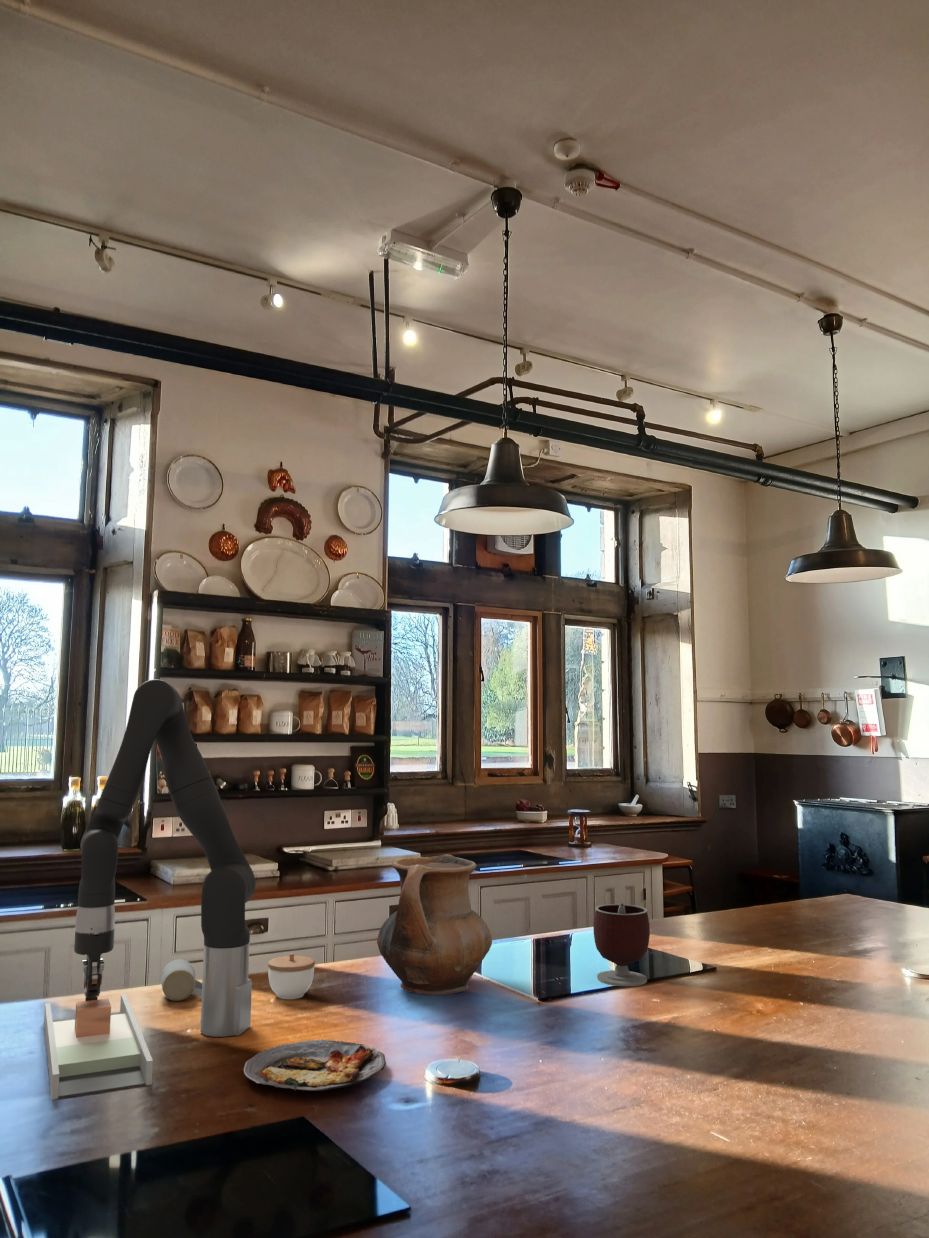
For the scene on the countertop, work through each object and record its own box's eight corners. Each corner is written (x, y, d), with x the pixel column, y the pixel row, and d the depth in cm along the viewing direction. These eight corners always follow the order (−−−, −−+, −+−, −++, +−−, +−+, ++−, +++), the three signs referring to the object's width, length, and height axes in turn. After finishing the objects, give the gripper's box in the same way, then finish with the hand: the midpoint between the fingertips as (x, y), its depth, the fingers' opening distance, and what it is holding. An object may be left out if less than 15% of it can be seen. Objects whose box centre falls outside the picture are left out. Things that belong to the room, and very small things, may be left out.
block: (74, 1028, 183) (76, 1002, 183) (107, 1024, 185) (108, 998, 186) (76, 1037, 177) (77, 1010, 178) (109, 1033, 180) (111, 1006, 181)
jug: (493, 1005, 208) (493, 869, 212) (368, 1004, 209) (371, 868, 212) (490, 968, 241) (491, 850, 244) (383, 966, 241) (385, 849, 244)
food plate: (405, 1059, 174) (404, 1039, 175) (350, 1108, 152) (350, 1086, 153) (287, 1046, 182) (287, 1028, 183) (219, 1092, 160) (219, 1071, 161)
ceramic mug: (161, 1004, 208) (163, 968, 208) (159, 994, 215) (162, 959, 216) (210, 1000, 211) (212, 965, 212) (207, 990, 219) (209, 957, 220)
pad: (53, 1061, 172) (54, 1047, 172) (133, 1050, 178) (133, 1036, 178) (55, 1080, 163) (56, 1065, 163) (139, 1067, 169) (140, 1053, 169)
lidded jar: (291, 986, 222) (292, 946, 223) (323, 994, 216) (324, 952, 217) (257, 996, 214) (258, 954, 215) (289, 1005, 207) (291, 961, 208)
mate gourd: (593, 970, 239) (593, 891, 241) (648, 973, 237) (647, 893, 239) (593, 987, 223) (593, 902, 226) (652, 990, 222) (651, 904, 224)
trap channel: (43, 1022, 194) (45, 1002, 194) (124, 1013, 201) (125, 993, 201) (51, 1099, 154) (52, 1074, 155) (151, 1084, 161) (152, 1060, 162)
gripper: (73, 922, 194) (69, 1008, 192) (76, 935, 182) (72, 1027, 180) (111, 919, 197) (107, 1004, 195) (117, 932, 186) (113, 1022, 184)
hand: (90, 1015), depth 188 cm, fingers closed
